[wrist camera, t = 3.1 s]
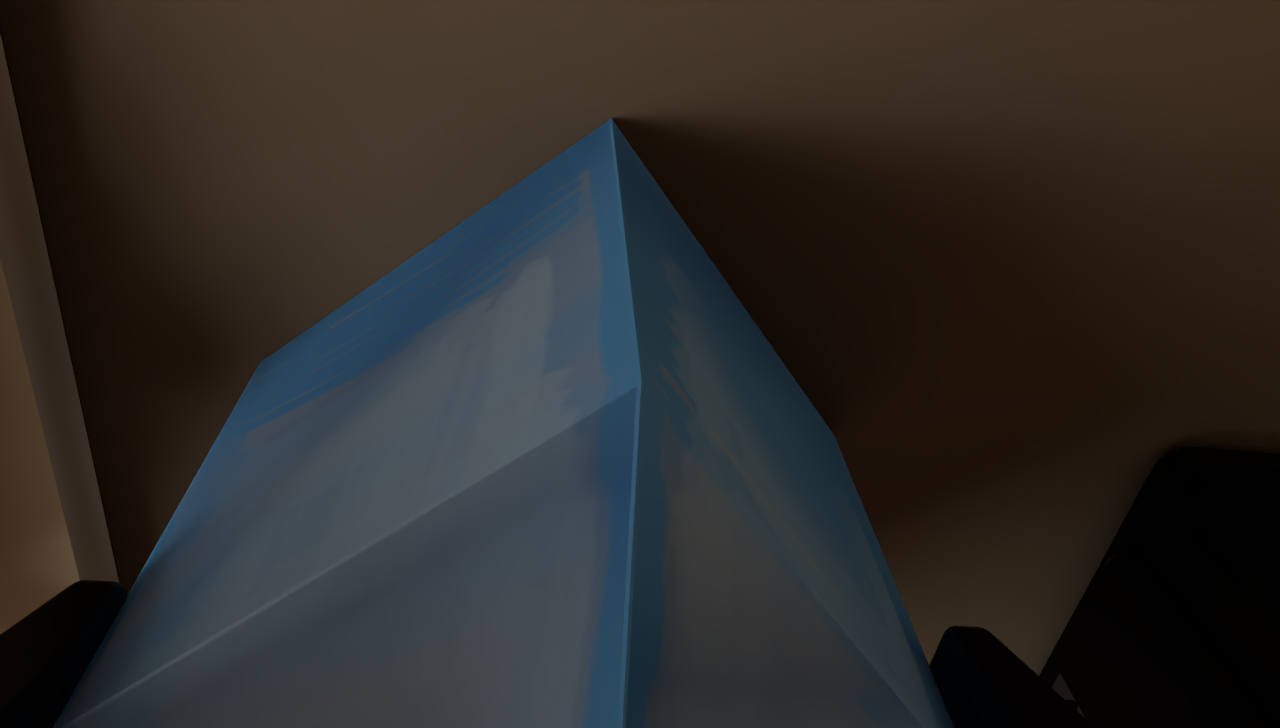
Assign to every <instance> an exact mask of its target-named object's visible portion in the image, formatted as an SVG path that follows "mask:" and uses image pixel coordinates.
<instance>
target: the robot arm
mask: <svg viewBox="0 0 1280 728" xmlns="http://www.w3.org/2000/svg"><path fill="white" fill-rule="evenodd" d="M1188 477H1190V478H1188ZM1186 478H1188V479H1186ZM1185 479H1186V480H1185ZM1184 480H1185V481H1184ZM126 599H127V593H126V590H125V588H124V586H123V585H122V584H121V583H118V582H116V581H97V580H81V581H78V582H75V583H73V584H71V585H70V586H68V587H67V588H65V589H64V590H62V591H61V592H60V593H58V594H57V595H55V596H54V597H53V598H51V599H50V600H48V601H47V602H45V603H44V604H43V605H41V606H40V607H38V608H37V609H36V610H34V611H33V612H31V613H30V614H28V615H27V616H26V617H24V618H23V619H21V620H20V621H18V622H17V623H16V624H14V625H13V626H11V627H10V628H9V629H7V630H6V631H4V632H3V633H1V634H0V728H52V727H53V726H54V724H55V722H56V721H57V719H58V718H59V716H60V714H61V713H62V711H63V709H64V707H65V706H66V704H67V702H68V701H69V699H70V697H71V695H72V694H73V692H74V690H75V688H76V687H77V685H78V683H79V681H80V680H81V678H82V676H83V674H84V673H85V671H86V669H87V667H88V666H89V664H90V662H91V660H92V658H93V657H94V655H95V653H96V651H97V650H98V648H99V646H100V644H101V643H102V641H103V639H104V637H105V636H106V634H107V632H108V630H109V629H110V627H111V625H112V623H113V621H114V620H115V618H116V616H117V614H118V613H119V611H120V609H121V607H122V606H123V604H124V602H125V600H126ZM929 667H930V670H931V672H932V675H933V677H934V679H935V682H936V684H937V687H938V689H939V692H940V694H941V696H942V699H943V701H944V704H945V706H946V709H947V711H948V713H949V716H950V718H951V721H952V723H953V726H954V728H1280V454H1273V453H1260V452H1248V451H1236V450H1224V449H1212V448H1200V447H1187V448H1180V449H1178V450H1175V451H1172V452H1170V453H1168V454H1167V455H1166V456H1164V457H1163V458H1161V459H1160V460H1159V461H1158V462H1157V464H1156V465H1155V466H1154V467H1153V469H1152V470H1151V472H1150V474H1149V476H1148V478H1147V479H1146V481H1145V483H1144V485H1143V487H1142V489H1141V490H1140V492H1139V494H1138V496H1137V498H1136V500H1135V501H1134V503H1133V505H1132V507H1131V509H1130V511H1129V512H1128V514H1127V516H1126V518H1125V520H1124V522H1123V523H1122V525H1121V527H1120V529H1119V531H1118V533H1117V534H1116V536H1115V538H1114V540H1113V542H1112V544H1111V545H1110V547H1109V549H1108V551H1107V553H1106V555H1105V557H1104V558H1103V560H1102V562H1101V564H1100V566H1099V568H1098V569H1097V571H1096V573H1095V575H1094V577H1093V579H1092V580H1091V582H1090V584H1089V586H1088V588H1087V590H1086V591H1085V593H1084V595H1083V597H1082V599H1081V601H1080V602H1079V604H1078V606H1077V608H1076V610H1075V612H1074V613H1073V615H1072V617H1071V619H1070V621H1069V623H1068V624H1067V626H1066V628H1065V630H1064V632H1063V634H1062V635H1061V637H1060V639H1059V641H1058V643H1057V645H1056V646H1055V648H1054V650H1053V652H1052V654H1051V656H1050V657H1049V659H1048V661H1047V663H1046V665H1045V667H1044V668H1043V670H1042V672H1041V674H1040V676H1038V675H1037V674H1036V673H1035V672H1034V671H1033V670H1031V669H1030V668H1029V667H1028V666H1027V665H1026V664H1025V663H1024V662H1023V661H1022V660H1020V659H1019V658H1018V657H1017V656H1016V655H1015V654H1014V653H1013V652H1012V651H1010V650H1009V649H1008V648H1007V647H1006V646H1005V645H1004V644H1003V643H1002V642H1001V641H999V640H998V639H997V638H996V637H995V636H994V635H993V634H992V633H990V632H989V631H988V630H986V629H984V628H980V627H967V626H952V627H950V628H948V629H947V630H946V631H945V632H944V634H943V636H942V638H941V641H940V643H939V645H938V647H937V650H936V652H935V654H934V656H933V659H932V661H931V663H930V665H929Z"/></svg>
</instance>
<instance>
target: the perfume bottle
mask: <svg viewBox="0 0 1280 728" xmlns="http://www.w3.org/2000/svg"><path fill="white" fill-rule="evenodd" d="M52 728H954V726H953V723H952V721H951V718H950V716H949V713H948V711H947V709H946V706H945V704H944V701H943V699H942V696H941V694H940V692H939V689H938V687H937V684H936V682H935V679H934V677H933V675H932V672H931V670H930V667H929V664H928V662H927V660H926V657H925V655H924V652H923V650H922V647H921V645H920V643H919V640H918V638H917V635H916V633H915V630H914V628H913V626H912V623H911V621H910V618H909V616H908V613H907V611H906V609H905V606H904V604H903V601H902V599H901V596H900V594H899V592H898V589H897V587H896V584H895V582H894V579H893V577H892V575H891V572H890V570H889V567H888V565H887V562H886V560H885V558H884V555H883V553H882V550H881V548H880V545H879V543H878V541H877V538H876V536H875V533H874V531H873V528H872V526H871V524H870V521H869V519H868V516H867V514H866V511H865V509H864V507H863V504H862V502H861V499H860V497H859V494H858V492H857V490H856V487H855V485H854V482H853V480H852V477H851V475H850V473H849V470H848V468H847V465H846V463H845V460H844V458H843V456H842V453H841V451H840V448H839V446H838V443H837V441H836V439H835V436H834V434H833V433H832V431H831V430H830V429H829V427H828V426H827V424H826V423H825V421H824V420H823V419H822V417H821V416H820V414H819V413H818V412H817V410H816V409H815V407H814V406H813V404H812V403H811V402H810V400H809V399H808V397H807V396H806V394H805V393H804V392H803V390H802V389H801V387H800V386H799V384H798V383H797V382H796V380H795V379H794V377H793V376H792V375H791V373H790V372H789V370H788V369H787V367H786V366H785V365H784V363H783V362H782V360H781V359H780V357H779V356H778V355H777V353H776V352H775V350H774V349H773V347H772V346H771V345H770V343H769V342H768V340H767V339H766V338H765V336H764V335H763V333H762V332H761V330H760V329H759V328H758V326H757V325H756V323H755V322H754V320H753V319H752V318H751V316H750V315H749V313H748V312H747V310H746V309H745V308H744V306H743V305H742V303H741V302H740V301H739V299H738V298H737V296H736V295H735V293H734V292H733V291H732V289H731V288H730V286H729V285H728V283H727V282H726V281H725V279H724V278H723V276H722V275H721V273H720V272H719V271H718V269H717V268H716V266H715V265H714V264H713V262H712V261H711V259H710V258H709V256H708V255H707V254H706V252H705V251H704V249H703V248H702V246H701V245H700V244H699V242H698V241H697V239H696V238H695V236H694V235H693V234H692V232H691V231H690V229H689V228H688V226H687V225H686V224H685V222H684V221H683V219H682V218H681V217H680V215H679V214H678V212H677V211H676V209H675V208H674V207H673V205H672V204H671V202H670V201H669V199H668V198H667V197H666V195H665V194H664V192H663V191H662V189H661V188H660V187H659V185H658V184H657V182H656V181H655V180H654V178H653V177H652V175H651V174H650V172H649V171H648V170H647V168H646V167H645V165H644V164H643V162H642V161H641V160H640V158H639V157H638V155H637V154H636V152H635V151H634V150H633V148H632V147H631V145H630V144H629V143H628V141H627V140H626V138H625V137H624V135H623V134H622V133H621V131H620V130H619V128H618V127H617V125H616V124H615V123H614V121H613V120H612V118H611V119H609V120H608V121H606V122H605V123H604V124H602V125H601V126H599V127H598V128H596V129H595V130H594V131H592V132H591V133H589V134H588V135H586V136H585V137H583V138H582V139H581V140H579V141H578V142H576V143H575V144H573V145H572V146H571V147H569V148H568V149H566V150H565V151H563V152H562V153H560V154H559V155H558V156H556V157H555V158H553V159H552V160H550V161H549V162H547V163H546V164H545V165H543V166H542V167H540V168H539V169H537V170H536V171H535V172H533V173H532V174H530V175H529V176H527V177H526V178H524V179H523V180H522V181H520V182H519V183H517V184H516V185H514V186H513V187H512V188H510V189H509V190H507V191H506V192H504V193H503V194H501V195H500V196H499V197H497V198H496V199H494V200H493V201H491V202H490V203H489V204H487V205H486V206H484V207H483V208H481V209H480V210H478V211H477V212H476V213H474V214H473V215H471V216H470V217H468V218H467V219H466V220H464V221H463V222H461V223H460V224H458V225H457V226H455V227H454V228H453V229H451V230H450V231H448V232H447V233H445V234H444V235H443V236H441V237H440V238H438V239H437V240H435V241H434V242H432V243H431V244H430V245H428V246H427V247H425V248H424V249H422V250H421V251H420V252H418V253H417V254H415V255H414V256H412V257H411V258H409V259H408V260H407V261H405V262H404V263H402V264H401V265H399V266H398V267H397V268H395V269H394V270H392V271H391V272H389V273H388V274H386V275H385V276H384V277H382V278H381V279H379V280H378V281H376V282H375V283H374V284H372V285H371V286H369V287H368V288H366V289H365V290H363V291H362V292H361V293H359V294H358V295H356V296H355V297H353V298H352V299H351V300H349V301H348V302H346V303H345V304H343V305H342V306H340V307H339V308H338V309H336V310H335V311H333V312H332V313H330V314H329V315H328V316H326V317H325V318H323V319H322V320H320V321H319V322H317V323H316V324H315V325H313V326H312V327H310V328H309V329H307V330H306V331H304V332H303V333H302V334H300V335H299V336H297V337H296V338H294V339H293V340H292V341H290V342H289V343H287V344H286V345H284V346H283V347H281V348H280V349H279V350H277V351H276V352H274V353H273V354H271V355H270V356H269V357H267V358H266V359H264V360H263V361H261V362H260V363H259V365H258V367H257V369H256V370H255V372H254V374H253V376H252V377H251V379H250V381H249V383H248V384H247V386H246V388H245V390H244V391H243V393H242V395H241V397H240V398H239V400H238V402H237V404H236V406H235V407H234V409H233V411H232V413H231V414H230V416H229V418H228V420H227V421H226V423H225V425H224V427H223V428H222V430H221V432H220V434H219V435H218V437H217V439H216V441H215V442H214V444H213V446H212V448H211V449H210V451H209V453H208V455H207V456H206V458H205V460H204V462H203V463H202V465H201V467H200V469H199V471H198V472H197V474H196V476H195V478H194V479H193V481H192V483H191V485H190V486H189V488H188V490H187V492H186V493H185V495H184V497H183V499H182V500H181V502H180V504H179V506H178V507H177V509H176V511H175V513H174V514H173V516H172V518H171V520H170V521H169V523H168V525H167V527H166V528H165V530H164V532H163V534H162V535H161V537H160V539H159V541H158V543H157V544H156V546H155V548H154V550H153V551H152V553H151V555H150V557H149V558H148V560H147V562H146V564H145V565H144V567H143V569H142V571H141V572H140V574H139V576H138V578H137V579H136V581H135V583H134V585H133V586H132V588H131V590H130V592H129V593H128V595H127V599H126V600H125V602H124V604H123V606H122V607H121V609H120V611H119V613H118V614H117V616H116V618H115V620H114V621H113V623H112V625H111V627H110V629H109V630H108V632H107V634H106V636H105V637H104V639H103V641H102V643H101V644H100V646H99V648H98V650H97V651H96V653H95V655H94V657H93V658H92V660H91V662H90V664H89V666H88V667H87V669H86V671H85V673H84V674H83V676H82V678H81V680H80V681H79V683H78V685H77V687H76V688H75V690H74V692H73V694H72V695H71V697H70V699H69V701H68V702H67V704H66V706H65V707H64V709H63V711H62V713H61V714H60V716H59V718H58V719H57V721H56V722H55V724H54V726H53V727H52Z"/></svg>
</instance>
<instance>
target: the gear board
mask: <svg viewBox="0 0 1280 728" xmlns="http://www.w3.org/2000/svg"><path fill="white" fill-rule="evenodd" d="M81 580H97V581H116V582H118V583H119V580H118V575H117V570H116V566H115V561H114V556H113V552H112V547H111V543H110V538H109V533H108V529H107V524H106V520H105V515H104V510H103V506H102V501H101V496H100V492H99V487H98V483H97V478H96V473H95V469H94V464H93V459H92V455H91V450H90V446H89V441H88V436H87V432H86V427H85V423H84V418H83V413H82V409H81V404H80V399H79V395H78V390H77V386H76V381H75V376H74V372H73V367H72V363H71V358H70V353H69V349H68V344H67V339H66V335H65V330H64V326H63V321H62V316H61V312H60V307H59V302H58V298H57V293H56V289H55V284H54V279H53V275H52V270H51V266H50V261H49V256H48V252H47V247H46V242H45V238H44V233H43V229H42V224H41V219H40V215H39V210H38V206H37V201H36V196H35V192H34V187H33V182H32V178H31V173H30V169H29V164H28V159H27V155H26V150H25V145H24V141H23V136H22V132H21V127H20V122H19V118H18V113H17V109H16V104H15V99H14V95H13V90H12V85H11V81H10V76H9V72H8V67H7V62H6V58H5V53H4V49H3V44H2V39H1V35H0V634H1V633H3V632H4V631H6V630H7V629H9V628H10V627H11V626H13V625H14V624H16V623H17V622H18V621H20V620H21V619H23V618H24V617H26V616H27V615H28V614H30V613H31V612H33V611H34V610H36V609H37V608H38V607H40V606H41V605H43V604H44V603H45V602H47V601H48V600H50V599H51V598H53V597H54V596H55V595H57V594H58V593H60V592H61V591H62V590H64V589H65V588H67V587H68V586H70V585H71V584H73V583H75V582H78V581H81Z"/></svg>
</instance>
